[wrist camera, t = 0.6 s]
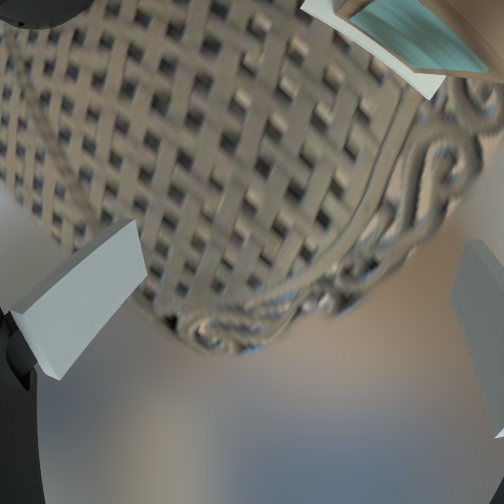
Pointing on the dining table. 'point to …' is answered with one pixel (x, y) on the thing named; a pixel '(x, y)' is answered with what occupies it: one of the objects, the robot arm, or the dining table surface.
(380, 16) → the tan box
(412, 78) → the rubber mat
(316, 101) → the dining table surface
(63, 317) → the robot arm
